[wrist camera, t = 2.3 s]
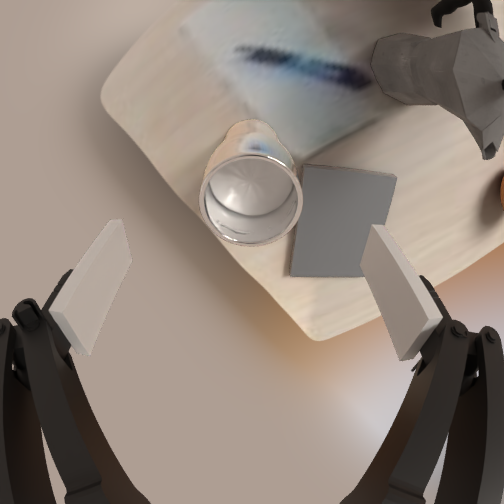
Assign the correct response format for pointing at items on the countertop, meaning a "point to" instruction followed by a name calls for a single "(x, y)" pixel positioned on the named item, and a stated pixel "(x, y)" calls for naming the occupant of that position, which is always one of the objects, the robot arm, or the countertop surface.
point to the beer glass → (251, 187)
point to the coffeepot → (450, 72)
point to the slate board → (338, 219)
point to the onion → (502, 193)
